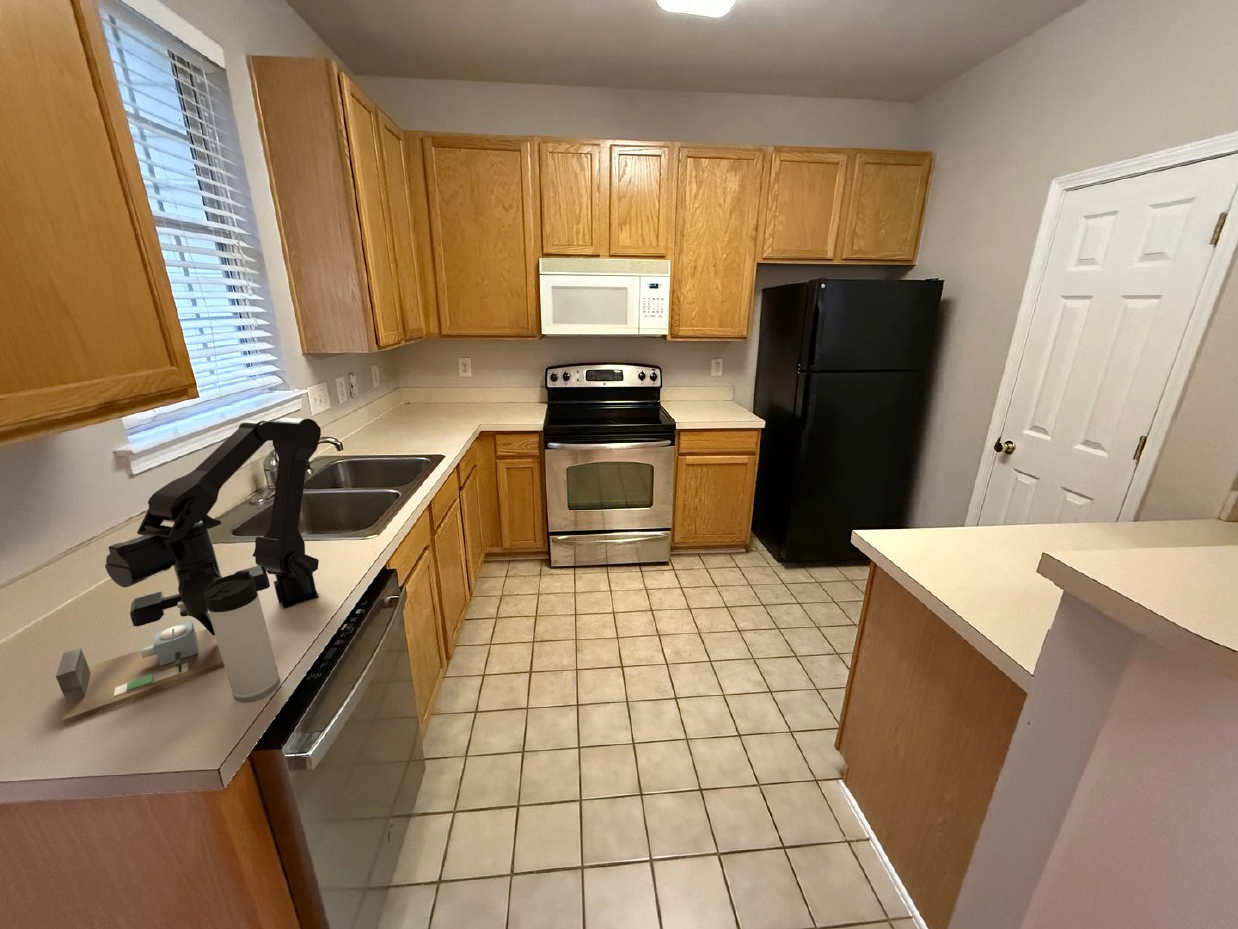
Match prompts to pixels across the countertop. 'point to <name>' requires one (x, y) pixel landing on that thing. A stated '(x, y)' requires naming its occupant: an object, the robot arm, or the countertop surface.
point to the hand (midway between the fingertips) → (215, 633)
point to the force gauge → (173, 644)
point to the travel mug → (242, 636)
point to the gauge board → (127, 677)
